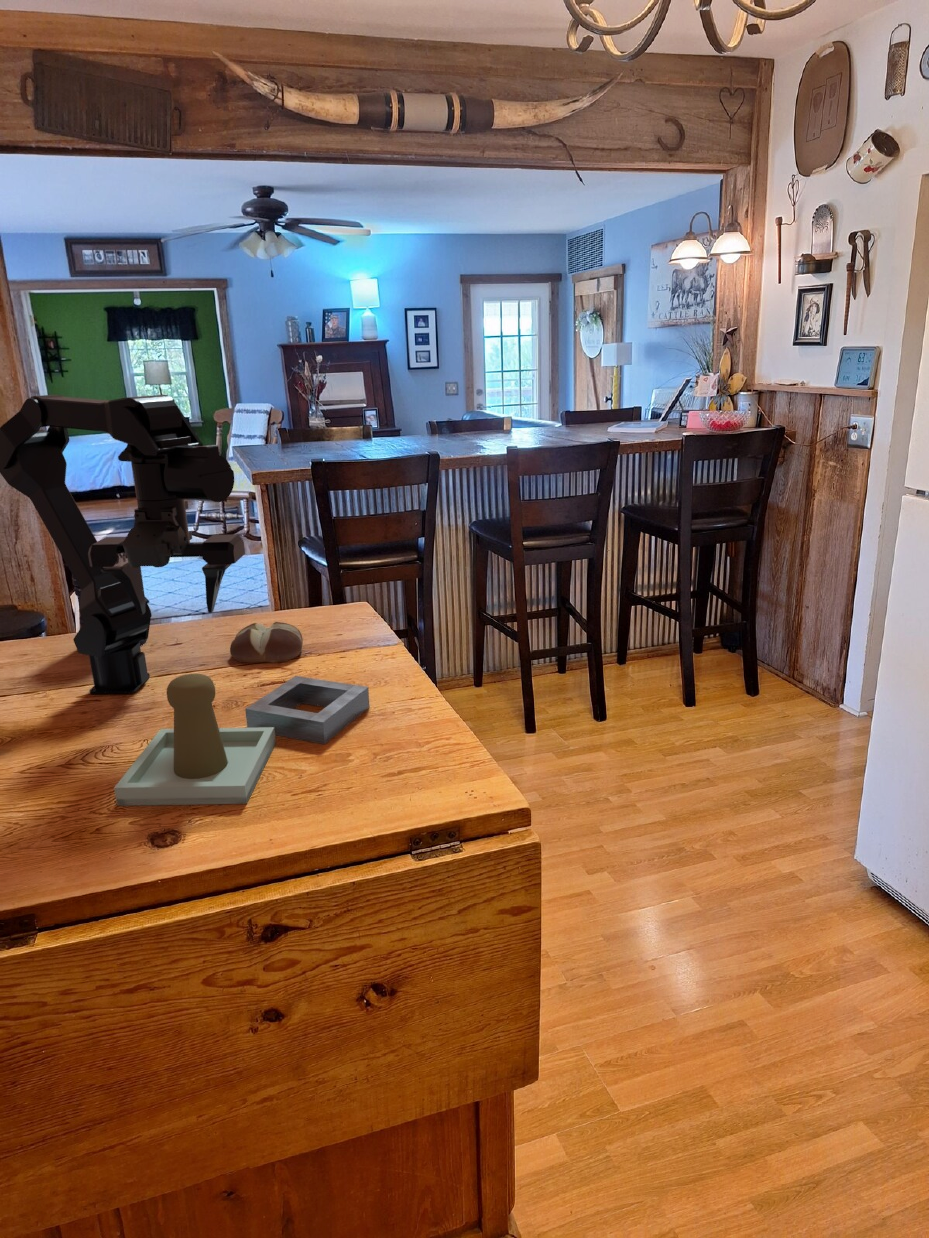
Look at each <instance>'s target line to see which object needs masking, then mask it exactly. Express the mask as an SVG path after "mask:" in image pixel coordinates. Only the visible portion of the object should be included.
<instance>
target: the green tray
mask: <svg viewBox="0 0 929 1238" xmlns="http://www.w3.org/2000/svg"><path fill="white" fill-rule="evenodd" d="M218 728H219V731H220V735H221V739H222V742H223V746H224V749H225V753H226V757H227V760H228V764H227V766H226V767H225V768H224V769H223V770H222V771H220V772H219V773H217V774H215V775H212V776H209V777H205V778H199V779H186V778H181V777H179V776H177V775H176V774H175V773H174V728H160V729H159V730H158V732H157V733H156V735H155V736H154V737H153V738H152V739H151V740H150V742H149V743H148V745H147V746H145V748H144V750H142V752H141V753H140V755H139V756H138V757H137V758H136V759H135V761H134V762H133V763H132V765H130V767H129V769H127V771H126V772H125V773H124V774H123V775H122V777H121V778H120V780H118V782H117V783H116V784H115V786H114V787H113V789H114V795H115V801H116V806H118V807H119V806H120V807H122V806H124V807H126V806H130V807H131V806H177V805H178V806H187V805H193V806H194V805H246V804H248V802H249V801H250V798H251V796H252V794H253V792H254V790H255V788H256V785H257V784H258V781H259V779H260V777H261V776H262V773H263V770H264V769H265V767H266V765H267V762H268V760H269V759H270V756H271V754H272V752H273V750H274V748H275V746H276V744H277V743H276V735H275V730H274V727H258V728H247V727H218Z"/></svg>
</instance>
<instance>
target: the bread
mask: <svg viewBox="0 0 929 1238" xmlns="http://www.w3.org/2000/svg"><path fill="white" fill-rule="evenodd" d="M303 641H304V639H303V636H302V633H301V630H300V629H299V628H297V627H296V626H294V625H292V624H290V623H287V622H279V621H274V622H273V623H272V624H271V625H270V626H269V628H268V627H266V625H263V624H261V623H258V622H254V623H251V624H249V625H247V626H245V627H243V628H242V629H240V630H239V632H238V633H236V636H235V637H234V639H233V640H232V642H231V644H230V645H229V646H230V647H229V652H230V656H231V657H232V658H233V659H234V660H235V661H237V662H239V661H240V663H245V662H246V663H248V664H253V663H255V664H256V663H258V664H259V663H283V662H284V663H285V662H288V661H291V660H293V659H296V658H297V657H298V656H299V655H300V654H302V653H301V652H302V649H303ZM246 663H245V664H246Z"/></svg>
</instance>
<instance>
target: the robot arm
mask: <svg viewBox="0 0 929 1238" xmlns="http://www.w3.org/2000/svg"><path fill="white" fill-rule="evenodd" d="M46 427H48V428H47V430H44V429H41V428H46ZM69 429H72V430H73V429H74V430H83V431H93V432H100V433H105V434H108V435H110V437H111V438H112V439H114V440H116V441H119V442H121V443H125V444H127V445H126V447H125V448H124V449H123V450H122V451H121V452H120V453H119V455H118V456H117V459H118V461H120V462H130V464H131V470H132V478H133V485H134V491H135V496H136V497H135V498H136V503H137V507H136V508H135V509H134V514H133V515H134V516H133V517H134V522H133V523H134V524H133V527H132V528H131V529H129V531H128V534H127V535H126V536H106V537H104V538H102V539H100V540H99V541H97V538H96V537H95V535H94V533H93V531H92V530H91V527H90V526H89V524H88V522H87V521H86V518H85V517H84V515H83V514H82V511H81V510H80V508H79V506H78V504H77V502H76V501H75V498H74V497H73V496H72V493H71V492H70V490H69V488H68V486H67V484H66V476H67V460H66V459H65V455H64V453H63V452H65V449H66V447H67V446H68V444H69V442H70V435H69ZM0 475H1V477H3V479H4V480H5V482H6V483H7V485H9V486H10V487H12V488H13V489H15V490H17V491H18V492H19V493H21V494H23V495H24V496H26V497H27V498H28V499H30V501H31V503H32V504H33V506H34V508H35V510H36V511H37V513H38V516H39V517H40V518H41V519H40V520H42V522H43V524H44V526H45V528H46V530H47V531H48V534H49V535H50V536H51V539H52V540H53V543H54V544H55V546H56V547H57V550H58V551H59V553H60V554H61V556H62V558H63V560H64V562H65V564H66V565H67V567H68V570H70V573H71V575H72V574H73V576H74V578H75V580H76V582H77V583H78V585H79V587H80V589H81V596H80V608H79V614H80V616H82V619H83V621H84V624H83V625H82V627H81V626H80V628H79V630H78V631H77V632H76V634H75V636H74V638H73V639H72V641H73V643H74V644H75V648H76V651H77V652H78V654H81V655H84V656H85V655H86V656H88V658H89V664H90V669H91V676H92V680H93V686H92V687H91V688H90V689H89V690H88V692H89V694H90V695H100V694H101V695H109V694H112V695H113V694H118V695H119V694H134V693H136V692H137V691H138V690H139V689H140V688H141V687H142V685H144V683H146V682H147V680H149V679H150V677H151V675H150V673H149V672H148V667H147V660H146V654H145V652H144V651H142V650H141V647H140V641H142V640H146V639H147V640H148V639H149V633H150V628H151V627H150V626H151V620H152V619H151V618H152V615H153V614H152V611H151V608H150V606H149V603H150V600H149V599H148V598H147V597H146V595H145V588H144V582H143V581H144V580H143V575H142V567H154V568H164V567H165V566H167V565H168V564H169V562H170V559H171V558H196V557H197V558H198V557H199V558H200V557H201V558H202V560H203V561H204V562H205V563H206V564H204V565H203V566H202V567H201V570H202V572H203V574H204V579H205V599H206V602H205V603H206V608H207V613H209V614H212V613H214V611H215V607H216V606H215V605H216V604H217V603H216V602H217V599H218V594H219V591H220V588H221V584H222V581H223V577H224V575H225V572H226V570H227V569H229V568H230V567H231V566H232V565H233V564H236V563H237V562H238V561H239V560H240V559H242V557H243V556H244V555H245V554H246V551H245V550H246V548H245V541H244V540H243V538H242V536H240V535H239V534H234V533H233V534H212V535H210V536H209V537H208V538H207V539H205V540H204V541H199V542H194V541H193V542H191V540H192V539H193V533H192V531H190V530H189V525H188V519H187V510H189V503H188V502H189V500H190V501H198V502H199V501H200V502H212V503H221V502H223V501H226V500H227V499H228V498H229V497H230V495H231V493H232V492H233V489H234V486H235V473H234V470H233V469H232V466H231V464H230V463H229V461H228V460H227V459H226V457H224V456H222V455H221V454H220V450H219V445H217V444H208V445H207V444H206V445H204V444H203V442H202V441H201V440H200V438H199V436H198V434H197V433H196V431H194V429H193V427H192V426H191V424H190V423H189V421H188V420H187V418H186V417H185V414H183V412H182V411H181V409H180V408H179V406H178V404H177V403H176V400H175V399H174V397H172V396H171V395H168V394H155V395H153V394H152V395H142V396H131V397H130V396H129V397H128V396H127V397H122V398H121V397H120V398H115V399H109V400H108V399H98V398H97V399H96V398H83V397H82V398H81V397H71V396H63V395H61V394H44V395H34V396H30V397H29V398H26V400H25V401H24V402H23V403H22V405H21V408H20V410H19V411H18V412H16V413H15V414H14V415H13V416H11V417H10V418H9V419H8V420H7V421H6V422H4V423H3V424H2V425H1V426H0Z"/></svg>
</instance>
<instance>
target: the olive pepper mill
mask: <svg viewBox="0 0 929 1238" xmlns="http://www.w3.org/2000/svg"><path fill="white" fill-rule="evenodd" d="M216 692H217V691H216V686H215V683H214V681H213V680H212V678H211V677H209V676H208V675H205V674H202V673H188V674H182V675H179V676H178V677H175V678H173V679H172V680H171V681H169V683H168V685H167V687H166V699H167V702H168V704H169V706H171V708H173V729H174V773H175V774H176V775H177V776H179V777H181V778H186V779H199V778H205V777H209V776H212V775H215V774H217V773H219V772H220V771H222V770H223V769H224V768H225V767H226V766H227V764H228V760H227V757H226V753H225V749H224V746H223V742H222V739H221V735H220V731H219V728H220V727H219V725H218V721H217V718H216V714H215V711H214V706H213V702H214V700H215V698H216Z"/></svg>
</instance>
